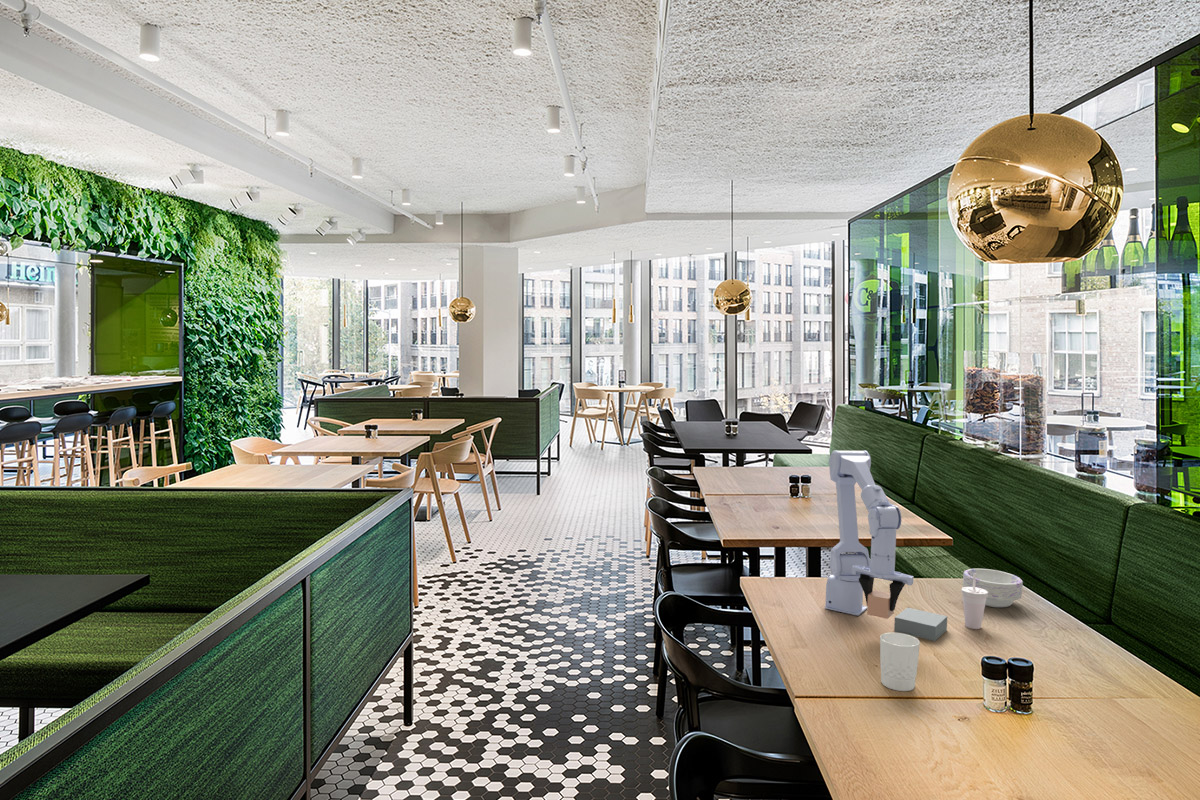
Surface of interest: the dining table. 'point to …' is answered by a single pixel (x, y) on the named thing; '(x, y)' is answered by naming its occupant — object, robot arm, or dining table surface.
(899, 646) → the white cup
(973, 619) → the smoothie
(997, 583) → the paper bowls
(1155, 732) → the dining table surface
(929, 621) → the slate plinth
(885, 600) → the terracotta block
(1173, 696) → the dining table surface
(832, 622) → the dining table surface
